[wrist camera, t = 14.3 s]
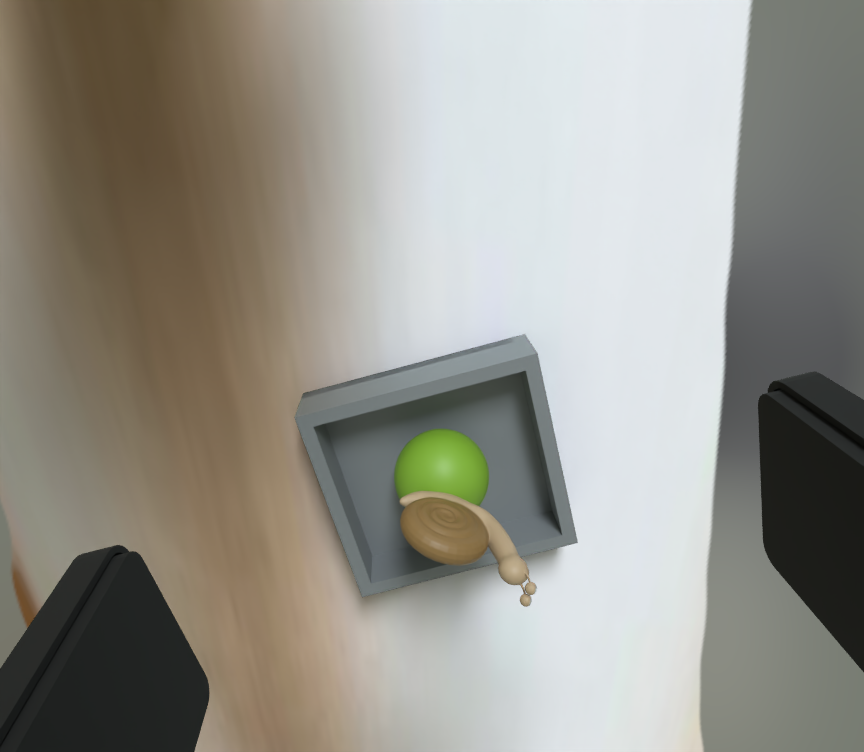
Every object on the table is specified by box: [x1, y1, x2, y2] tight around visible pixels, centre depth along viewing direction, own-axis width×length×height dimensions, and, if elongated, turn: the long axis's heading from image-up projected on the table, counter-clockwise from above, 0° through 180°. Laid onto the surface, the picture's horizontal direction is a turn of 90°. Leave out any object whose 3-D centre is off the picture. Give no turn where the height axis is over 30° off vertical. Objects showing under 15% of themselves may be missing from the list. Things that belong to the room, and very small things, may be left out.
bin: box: [295, 334, 578, 597], centre depth 38 cm, size 13×14×4 cm
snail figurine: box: [394, 429, 536, 607], centre depth 33 cm, size 5×6×12 cm
